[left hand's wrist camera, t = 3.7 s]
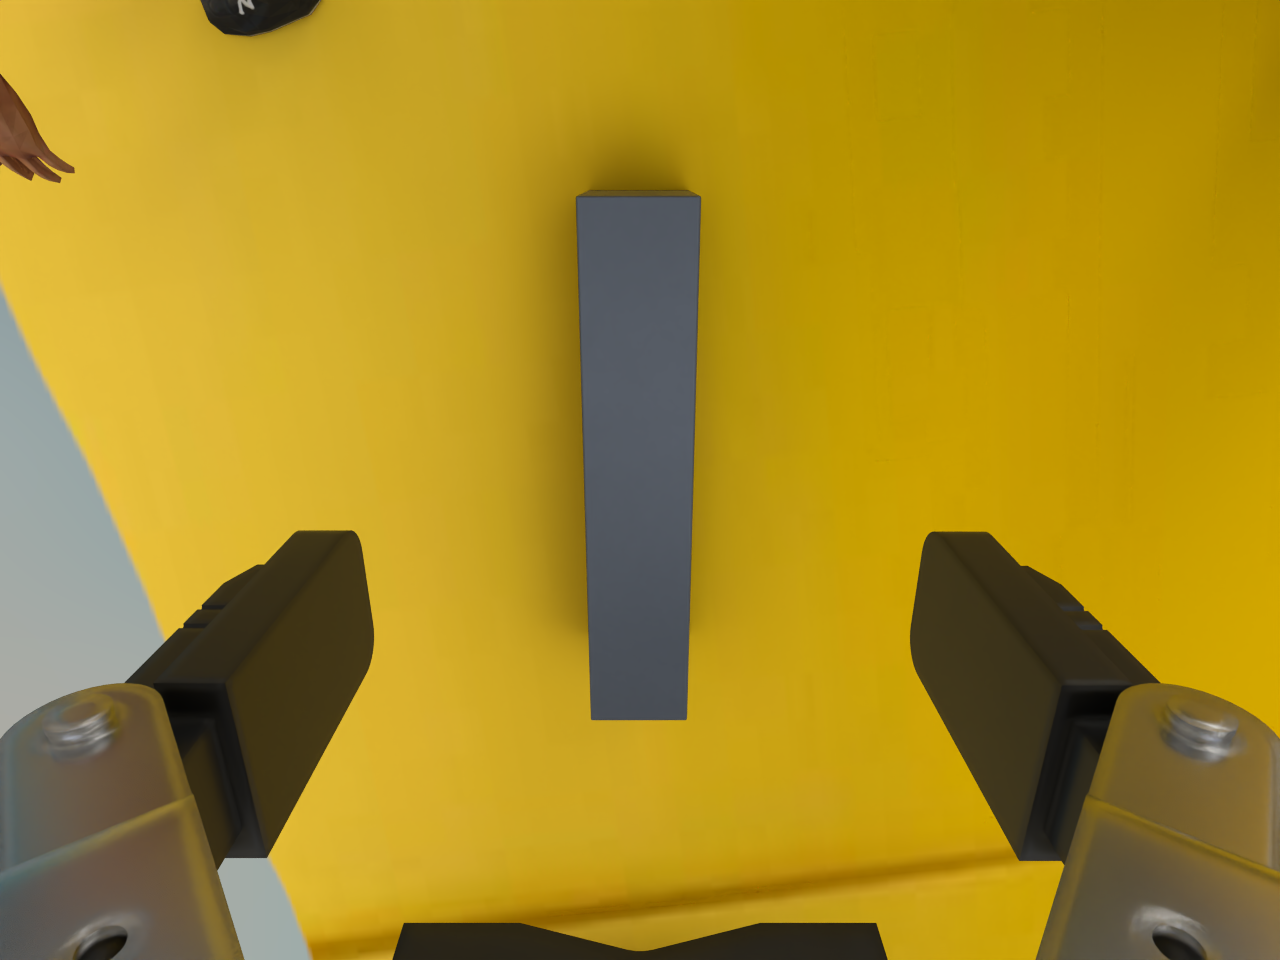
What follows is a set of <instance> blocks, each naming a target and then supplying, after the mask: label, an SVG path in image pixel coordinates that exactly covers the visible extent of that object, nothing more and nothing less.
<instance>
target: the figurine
mask: <svg viewBox="0 0 1280 960" xmlns="http://www.w3.org/2000/svg"><path fill="white" fill-rule="evenodd" d="M320 1H321V0H201V2H202V5H203V7H204V10H205V12H206V15H207V17H208V20H209V21H210V23H212V24H213V25H214V26H215V27H217V28H218V29H219V30H220V31H222V32H223V33H224V34H231V35H242V36H255V35H259V34H263V33H267V32H271V31H274V30H276V29H278V28H281V27H283V26H285V25H288V24H290V23H292V22H294V21H297V20H299V19H301V18H304V17H306V16H308V15H311V14H312V12H313V11H314V9H315V8H316V7H317V5H318V4H319V2H320ZM36 156H37V157H39V158H41V159H42V160H43V161H44V162H46V163H47V164H48V165H49V166H51V167H53V168H55V169H57V170H60V171H63V172H66V173H75V172H74V167H72V166H70V165H69V164H67V163H66V162H64V161H63V160H61V159H60V158H58V157H57V156H56V155H55V154H54V153H52V152H51V151H50V150H49V148H48V147H47V145H46V144H45V142H44V141H43V139H42V137H41V136H40V134H39V132H38V130H37V128H36V125H35V123H34V121H33V119H32V116H31V114H30V113H29V111H28V110H27V108H26V107H25V105H24V104H23V102H22V101H21V99H20V98H19V96H18V95H17V93H16V92H15V91H14V90H13V88H12V87H11V86H10V85H9V84H8V82H7V81H6V80H5V79H4V78H3V77H2V75H1V74H0V166H1V165H2V164H3V165H5V166H6V167H8V168H9V169H10V170H12V171H14V172H15V173H17V174H19V175H21V176H23V177H25V178H27V179H29V180H32V178H33V175H34V173H35V174H37V175H38V176H40V177H42V178H44V179H46V180H49V181H53V182H58V183H60V181H61V177H59V176H58V175H57V174H55V173H54V172H52V171H51V170H50V169H49V168H48V167H46V166H45V165H44V164H43V163H42V162H41V161H40V160H39V159H38V158H37V157H36ZM32 171H33V172H32Z"/></svg>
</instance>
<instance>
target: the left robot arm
mask: <svg viewBox="0 0 1280 960" xmlns="http://www.w3.org/2000/svg"><path fill="white" fill-rule="evenodd" d="M373 645H374V628H373V620H372V613H371V607H370V600H369V593H368V587H367V580H366V573H365V566H364V560H363V553H362V547H361V543H360V540H359V538H358V536H357V534H356V533H355V532H354V531H297V532H295V533H294V534H293V535H292V536H291V537H290V538H289V539H288V540H287V541H286V542H285V543H284V544H283V546H282V547H281V548H280V549H279V550H278V551H277V552H276V553H275V554H274V555H273V556H272V557H271V558H270V559H269V560H268V561H267V562H266V564H265V565H256V566H254V567H252V568H250V569H249V570H247V571H245V572H243V573H241V574H240V575H238V576H236V577H234V578H232V579H231V580H229V581H227V582H225V583H224V584H223V585H222V586H221V587H220V588H219V589H218V590H217V591H216V592H215V593H214V594H213V595H212V596H211V597H210V598H209V599H208V600H207V601H206V602H205V603H204V604H203V605H202V609H201V610H197V611H196V612H195V613H194V614H193V615H192V616H191V617H190V618H189V619H188V620H187V621H186V622H185V623H184V627H183V628H179V629H178V630H177V631H176V632H175V633H174V634H173V635H172V636H171V637H170V638H169V639H168V640H167V641H166V642H165V643H164V644H163V645H162V646H161V647H160V648H159V649H158V650H157V651H156V652H155V653H154V654H153V655H152V656H151V657H150V658H149V659H148V660H147V661H146V662H145V663H144V664H143V665H142V666H141V667H140V668H139V669H138V670H137V671H136V672H135V673H134V674H133V675H132V676H131V677H130V678H129V679H128V680H127V681H126V682H125V683H117V684H108V685H102V686H97V687H92V688H88V689H84V690H81V691H77V692H75V693H71V694H69V695H66V696H63V697H61V698H58V699H56V700H54V701H51V702H49V703H47V704H45V705H44V706H42V707H40V708H38V709H36V710H34V711H33V712H31V713H29V714H28V715H26V716H25V717H23V718H22V719H21V720H19V721H18V722H17V723H15V724H14V725H13V726H12V727H11V728H10V729H9V730H8V731H7V732H6V733H5V734H4V735H3V736H2V738H1V739H0V960H244V957H243V954H242V950H241V947H240V944H239V941H238V937H237V934H236V931H235V928H234V924H233V921H232V918H231V915H230V911H229V908H228V905H227V901H226V898H225V895H224V892H223V888H222V885H221V882H220V879H219V875H218V872H217V870H218V869H219V867H220V865H221V864H222V862H223V860H224V859H225V858H267V857H268V855H269V853H270V851H271V849H272V848H273V846H274V844H275V842H276V840H277V838H278V836H279V835H280V833H281V831H282V829H283V827H284V825H285V823H286V822H287V820H288V818H289V816H290V814H291V812H292V810H293V809H294V807H295V805H296V803H297V801H298V799H299V797H300V796H301V794H302V792H303V790H304V788H305V786H306V784H307V783H308V781H309V779H310V777H311V775H312V773H313V771H314V770H315V768H316V766H317V764H318V762H319V760H320V759H321V757H322V755H323V753H324V751H325V749H326V747H327V746H328V744H329V742H330V740H331V738H332V736H333V734H334V733H335V731H336V729H337V727H338V725H339V723H340V721H341V720H342V718H343V716H344V714H345V712H346V710H347V708H348V707H349V705H350V703H351V701H352V699H353V697H354V695H355V694H356V692H357V690H358V688H359V686H360V684H361V683H362V681H363V679H364V677H365V675H366V673H367V671H368V669H369V666H370V663H371V659H372V654H373ZM910 646H911V655H912V660H913V664H914V667H915V670H916V672H917V674H918V676H919V678H920V680H921V682H922V684H923V685H924V687H925V689H926V691H927V693H928V695H929V696H930V698H931V700H932V702H933V704H934V706H935V707H936V709H937V711H938V713H939V715H940V717H941V718H942V720H943V722H944V724H945V726H946V728H947V729H948V731H949V733H950V735H951V737H952V739H953V740H954V742H955V744H956V746H957V748H958V749H959V751H960V753H961V755H962V757H963V759H964V760H965V762H966V764H967V766H968V768H969V770H970V771H971V773H972V775H973V777H974V779H975V781H976V782H977V784H978V786H979V788H980V790H981V792H982V793H983V795H984V797H985V799H986V801H987V803H988V804H989V806H990V808H991V810H992V812H993V814H994V815H995V817H996V819H997V821H998V823H999V825H1000V826H1001V828H1002V830H1003V832H1004V834H1005V836H1006V837H1007V839H1008V841H1009V843H1010V845H1011V847H1012V848H1013V850H1014V852H1015V854H1016V856H1017V858H1018V859H1019V861H1062V862H1063V864H1064V865H1065V866H1064V869H1063V872H1062V875H1061V879H1060V882H1059V885H1058V888H1057V892H1056V895H1055V898H1054V901H1053V905H1052V908H1051V911H1050V914H1049V918H1048V921H1047V924H1046V928H1045V931H1044V934H1043V937H1042V941H1041V944H1040V947H1039V950H1038V954H1037V957H1036V960H1280V739H1279V738H1278V736H1277V735H1276V734H1275V733H1274V732H1273V731H1272V730H1271V729H1270V728H1269V727H1268V726H1267V725H1266V724H1265V723H1263V722H1262V721H1261V720H1259V719H1258V718H1257V717H1255V716H1254V715H1252V714H1251V713H1249V712H1247V711H1246V710H1244V709H1242V708H1240V707H1238V706H1237V705H1235V704H1233V703H1231V702H1229V701H1226V700H1224V699H1222V698H1219V697H1217V696H1214V695H1211V694H1209V693H1206V692H1203V691H1199V690H1196V689H1192V688H1188V687H1183V686H1178V685H1172V684H1163V683H1160V682H1159V681H1158V680H1157V679H1156V678H1155V677H1154V676H1153V675H1152V674H1151V673H1150V672H1149V671H1148V670H1147V669H1146V668H1145V667H1144V666H1143V665H1142V664H1141V663H1140V662H1139V661H1138V660H1137V659H1136V658H1135V657H1134V656H1133V655H1132V654H1131V653H1130V652H1129V651H1128V650H1127V649H1126V648H1125V647H1124V646H1123V645H1122V644H1121V643H1120V642H1119V641H1118V640H1117V639H1116V638H1115V637H1114V636H1113V635H1112V634H1111V633H1110V632H1109V631H1108V630H1103V629H1102V624H1101V623H1100V622H1099V621H1098V620H1096V619H1095V618H1094V617H1093V616H1092V615H1091V614H1090V613H1089V612H1088V611H1084V607H1083V606H1082V605H1081V604H1080V603H1079V602H1078V601H1077V600H1076V599H1075V598H1074V597H1073V596H1072V595H1071V594H1070V593H1069V592H1068V591H1067V590H1066V589H1065V588H1064V587H1063V586H1062V585H1061V584H1059V583H1057V582H1056V581H1054V580H1052V579H1050V578H1048V577H1047V576H1045V575H1043V574H1041V573H1039V572H1038V571H1036V570H1034V569H1032V568H1030V567H1028V566H1020V565H1019V564H1018V563H1017V562H1016V560H1015V559H1014V558H1013V557H1012V556H1011V555H1010V554H1009V553H1008V552H1007V551H1006V550H1005V549H1004V548H1003V547H1002V546H1001V545H1000V544H999V543H998V542H997V541H996V539H995V538H994V537H993V536H992V535H991V534H989V533H988V532H931V533H930V534H929V535H928V536H927V537H926V540H925V542H924V545H923V550H922V556H921V562H920V569H919V576H918V582H917V589H916V596H915V602H914V609H913V615H912V622H911V630H910ZM393 960H887V956H886V953H885V950H884V947H883V943H882V940H881V937H880V934H879V931H878V927H877V924H876V923H758V924H754V925H750V926H746V927H742V928H738V929H734V930H730V931H726V932H722V933H718V934H714V935H710V936H706V937H702V938H698V939H694V940H690V941H686V942H682V943H678V944H674V945H670V946H666V947H662V948H658V949H655V950H649V951H631V950H625V949H622V948H618V947H614V946H610V945H606V944H602V943H598V942H594V941H590V940H586V939H582V938H578V937H574V936H570V935H566V934H562V933H558V932H554V931H550V930H546V929H542V928H538V927H534V926H530V925H526V924H522V923H404V924H403V927H402V931H401V934H400V937H399V940H398V943H397V947H396V950H395V953H394V956H393Z"/></svg>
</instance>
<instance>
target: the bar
mask: <svg viewBox="0 0 1280 960" xmlns="http://www.w3.org/2000/svg"><path fill="white" fill-rule="evenodd" d="M700 216H701V197H700V196H699V195H697V194H695V193H693V192H690V191H688V190H589V191H587V192H585V193H583V194H581V195H578V196H576V220H577V254H578V288H579V323H580V357H581V391H582V426H583V460H584V494H585V529H586V563H587V598H588V632H589V666H590V701H591V719H592V720H686V719H687V694H688V657H689V621H690V584H691V547H692V510H693V474H694V437H695V400H696V363H697V327H698V290H699V253H700Z"/></svg>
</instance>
